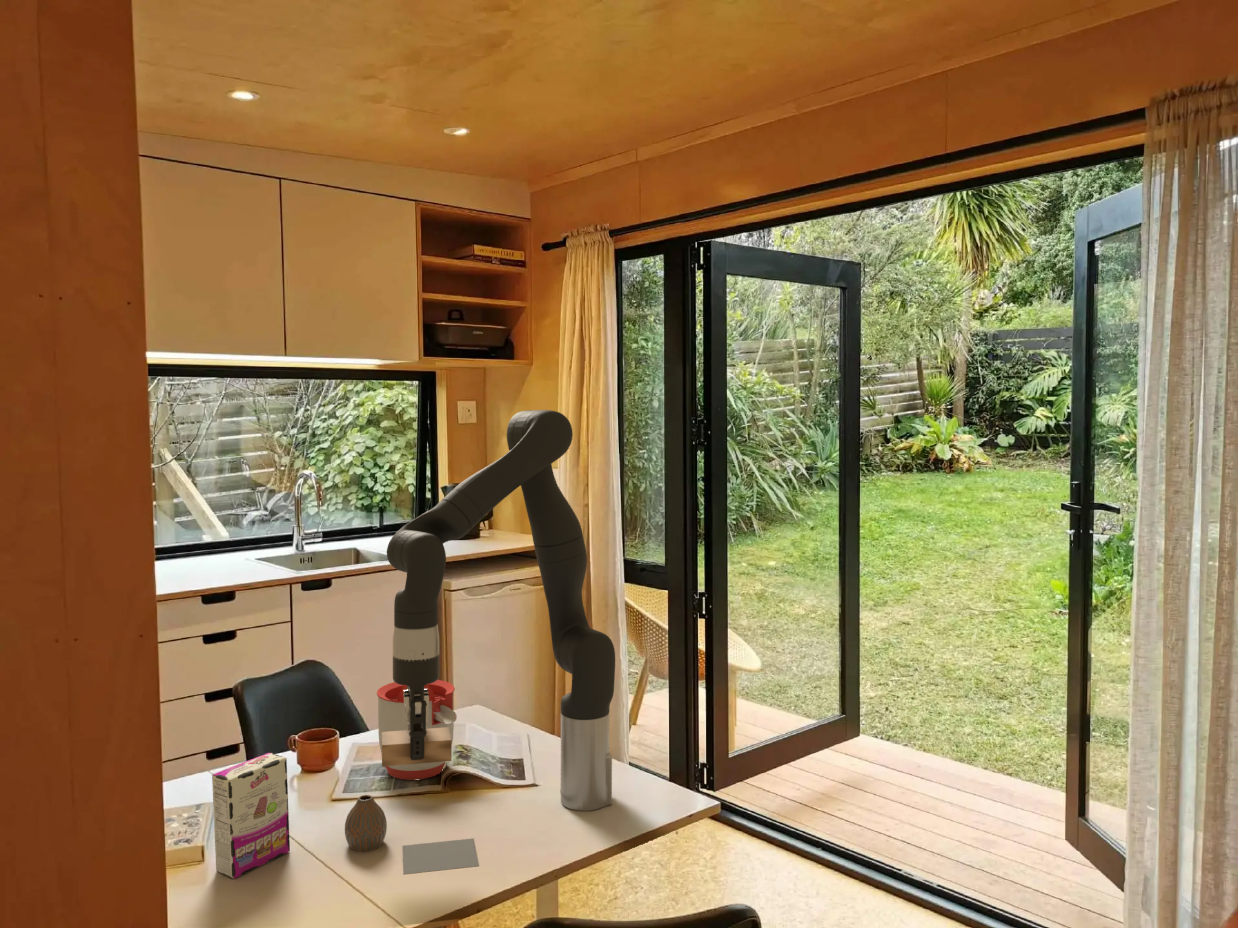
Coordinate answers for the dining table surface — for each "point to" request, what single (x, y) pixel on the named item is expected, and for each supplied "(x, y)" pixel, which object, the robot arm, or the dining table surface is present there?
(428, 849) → the rubber mat
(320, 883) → the dining table surface
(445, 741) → the wooden rectangular block
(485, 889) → the dining table surface
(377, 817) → the vase
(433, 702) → the citrus juicer
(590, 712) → the robot arm
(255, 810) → the candy bar box
